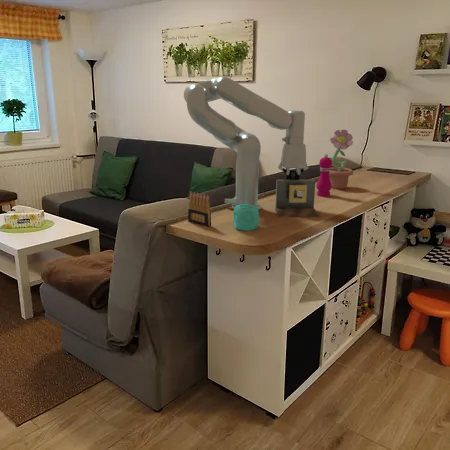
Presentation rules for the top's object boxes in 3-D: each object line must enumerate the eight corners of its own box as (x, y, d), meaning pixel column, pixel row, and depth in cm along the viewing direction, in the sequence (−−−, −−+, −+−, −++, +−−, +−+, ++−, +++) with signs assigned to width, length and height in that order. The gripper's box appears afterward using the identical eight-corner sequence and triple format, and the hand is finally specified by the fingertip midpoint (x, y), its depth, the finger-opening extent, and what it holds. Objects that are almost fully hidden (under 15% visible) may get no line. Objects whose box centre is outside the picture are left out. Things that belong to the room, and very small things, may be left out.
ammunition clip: (211, 226, 169) (211, 194, 166) (207, 227, 168) (207, 195, 165) (191, 220, 176) (191, 190, 173) (188, 221, 175) (187, 191, 172)
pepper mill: (320, 197, 217) (322, 155, 212) (313, 194, 224) (315, 153, 218) (333, 196, 219) (336, 154, 213) (326, 193, 226) (329, 152, 220)
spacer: (289, 202, 186) (289, 185, 184) (288, 201, 187) (289, 184, 185) (306, 202, 186) (307, 185, 184) (305, 201, 188) (306, 184, 186)
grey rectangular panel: (276, 208, 191) (277, 180, 188) (275, 207, 193) (276, 179, 190) (313, 208, 192) (315, 180, 189) (312, 206, 194) (314, 179, 190)
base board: (279, 216, 183) (279, 213, 182) (275, 209, 193) (275, 207, 193) (318, 216, 184) (318, 213, 183) (312, 209, 194) (312, 206, 194)
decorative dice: (254, 224, 172) (254, 203, 170) (258, 230, 165) (259, 209, 162) (233, 225, 171) (233, 204, 169) (237, 231, 163) (237, 209, 161)
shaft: (296, 196, 182) (297, 176, 180) (288, 187, 199) (289, 169, 196) (303, 196, 182) (304, 176, 180) (294, 187, 199) (295, 169, 196)
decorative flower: (322, 189, 235) (326, 130, 226) (323, 184, 247) (327, 128, 239) (352, 191, 231) (357, 131, 223) (351, 185, 244) (356, 129, 236)
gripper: (276, 141, 188) (274, 185, 193) (315, 141, 188) (312, 185, 194) (273, 139, 195) (272, 182, 200) (311, 139, 196) (309, 182, 201)
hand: (292, 183), depth 197 cm, fingers closed on shaft, 2 cm apart
